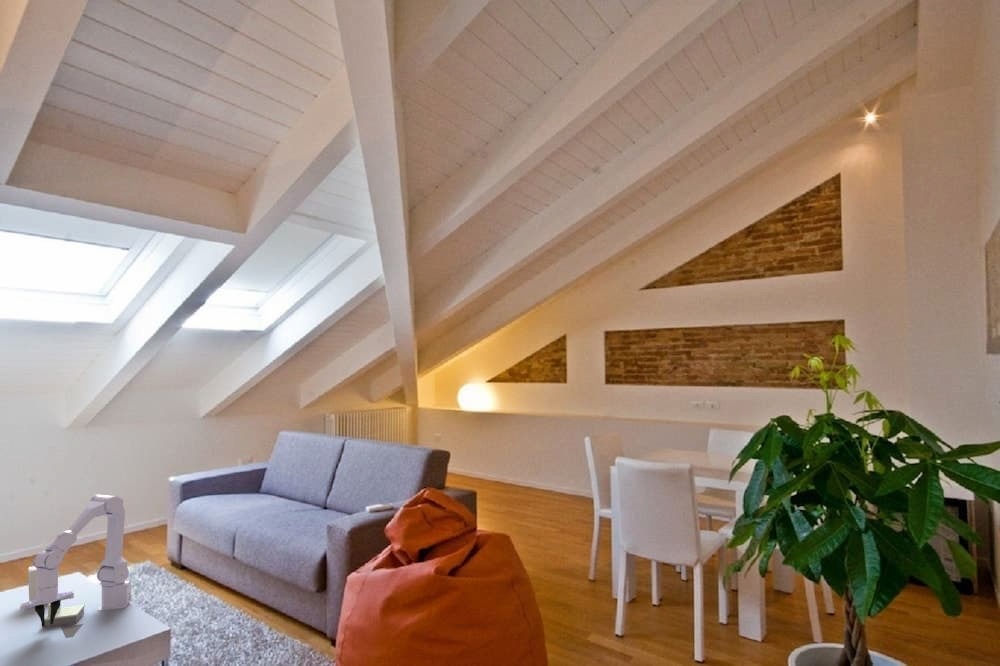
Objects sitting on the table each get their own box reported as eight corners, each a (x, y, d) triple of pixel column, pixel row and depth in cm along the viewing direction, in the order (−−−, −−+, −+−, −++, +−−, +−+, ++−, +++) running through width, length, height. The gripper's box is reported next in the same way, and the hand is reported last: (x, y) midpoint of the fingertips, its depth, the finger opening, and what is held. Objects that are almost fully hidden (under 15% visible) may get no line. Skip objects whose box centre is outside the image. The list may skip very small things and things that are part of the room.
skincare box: (55, 597, 227) (55, 560, 228) (55, 603, 223) (55, 565, 223) (28, 604, 222) (28, 566, 222) (27, 609, 217) (28, 570, 218)
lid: (84, 607, 213) (84, 593, 213) (76, 617, 205) (76, 603, 206) (51, 612, 210) (51, 598, 210) (42, 622, 202) (42, 607, 202)
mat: (83, 624, 205) (83, 623, 205) (72, 638, 196) (72, 636, 196) (42, 630, 201) (42, 629, 201) (30, 644, 191) (30, 643, 191)
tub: (84, 614, 213) (84, 606, 213) (76, 624, 206) (76, 615, 206) (51, 618, 210) (52, 610, 210) (42, 629, 202) (43, 620, 202)
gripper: (72, 576, 205) (71, 613, 205) (19, 588, 196) (19, 627, 195) (74, 582, 200) (74, 620, 200) (21, 594, 190) (20, 635, 190)
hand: (47, 624), depth 197 cm, fingers closed
